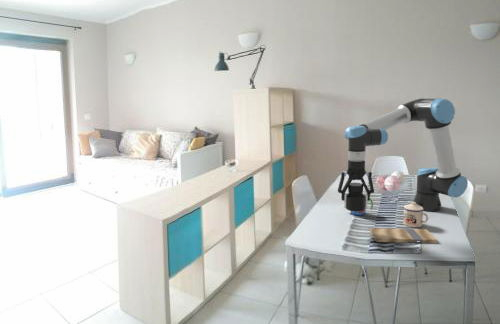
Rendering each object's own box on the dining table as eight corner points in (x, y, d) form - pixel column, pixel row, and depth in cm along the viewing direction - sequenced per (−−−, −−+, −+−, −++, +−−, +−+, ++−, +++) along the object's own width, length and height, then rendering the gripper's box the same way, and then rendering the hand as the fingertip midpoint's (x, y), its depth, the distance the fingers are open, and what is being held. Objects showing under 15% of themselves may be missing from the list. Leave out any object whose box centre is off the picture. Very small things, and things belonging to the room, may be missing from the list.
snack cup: (340, 214, 204) (341, 196, 202) (347, 209, 213) (347, 191, 211) (368, 219, 195) (369, 200, 193) (374, 213, 204) (375, 195, 202)
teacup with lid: (399, 224, 187) (400, 202, 185) (408, 220, 192) (409, 198, 190) (422, 230, 178) (424, 207, 175) (431, 226, 183) (433, 203, 181)
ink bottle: (362, 205, 179) (362, 181, 176) (368, 211, 170) (369, 186, 168) (342, 206, 178) (342, 182, 176) (347, 212, 170) (348, 187, 167)
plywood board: (426, 232, 176) (426, 229, 176) (436, 243, 163) (437, 239, 163) (369, 231, 179) (370, 228, 178) (376, 241, 166) (376, 238, 166)
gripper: (333, 161, 167) (332, 209, 171) (383, 161, 165) (381, 209, 169) (331, 158, 175) (330, 204, 179) (378, 158, 172) (377, 204, 177)
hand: (355, 207), depth 174 cm, fingers closed on ink bottle, 9 cm apart
